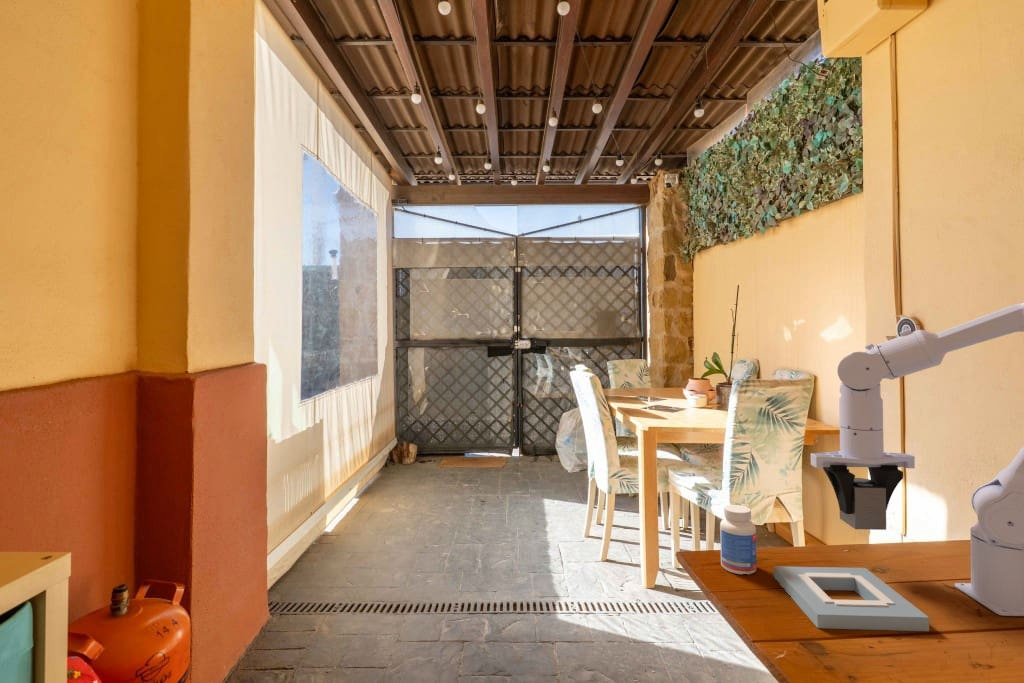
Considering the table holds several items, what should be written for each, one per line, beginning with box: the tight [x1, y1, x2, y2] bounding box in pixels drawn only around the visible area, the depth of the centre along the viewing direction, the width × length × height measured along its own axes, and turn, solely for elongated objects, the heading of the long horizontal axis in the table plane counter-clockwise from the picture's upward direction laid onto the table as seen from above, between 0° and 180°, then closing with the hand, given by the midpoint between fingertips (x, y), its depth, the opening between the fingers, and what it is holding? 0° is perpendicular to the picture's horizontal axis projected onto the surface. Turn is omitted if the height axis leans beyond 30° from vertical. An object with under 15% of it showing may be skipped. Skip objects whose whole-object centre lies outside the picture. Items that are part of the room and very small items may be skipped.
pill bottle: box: [719, 504, 758, 575], centre depth 83 cm, size 6×5×10 cm
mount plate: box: [773, 565, 930, 632], centre depth 72 cm, size 14×14×2 cm
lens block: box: [839, 477, 887, 531], centre depth 80 cm, size 4×4×7 cm
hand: (862, 512), depth 80 cm, fingers closed on lens block, 4 cm apart
